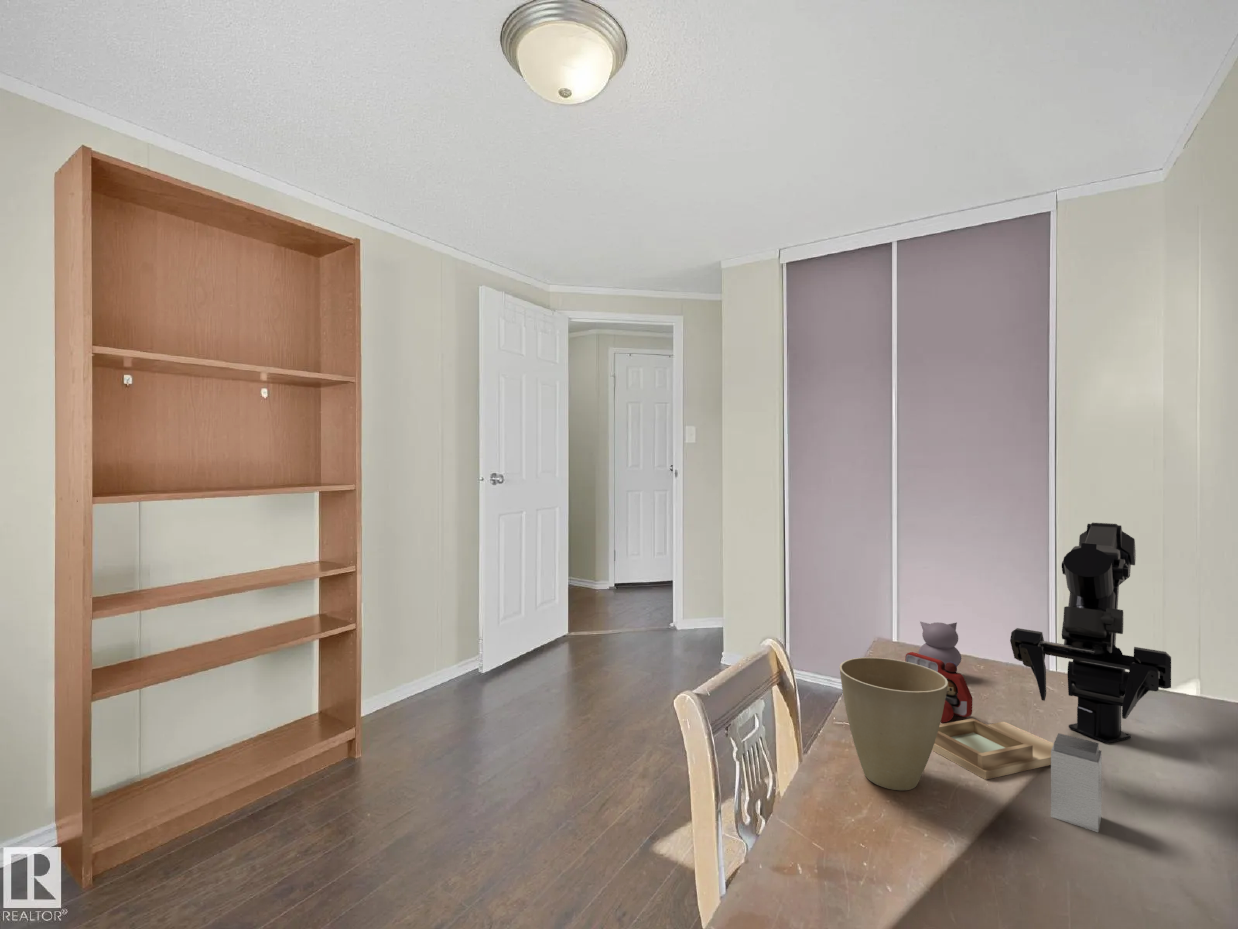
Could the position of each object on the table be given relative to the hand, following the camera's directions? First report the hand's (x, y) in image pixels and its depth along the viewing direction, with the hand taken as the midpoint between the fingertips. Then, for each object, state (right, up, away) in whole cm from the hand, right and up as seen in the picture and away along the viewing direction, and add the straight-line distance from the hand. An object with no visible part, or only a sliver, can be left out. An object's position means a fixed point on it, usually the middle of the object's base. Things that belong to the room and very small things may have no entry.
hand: (1081, 708), depth 85 cm
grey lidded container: (-5, -13, -5) cm, 14 cm away
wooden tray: (-4, -13, +13) cm, 19 cm away
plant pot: (-25, -13, +5) cm, 29 cm away
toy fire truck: (-6, -13, +29) cm, 32 cm away
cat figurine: (+6, -13, +48) cm, 50 cm away
